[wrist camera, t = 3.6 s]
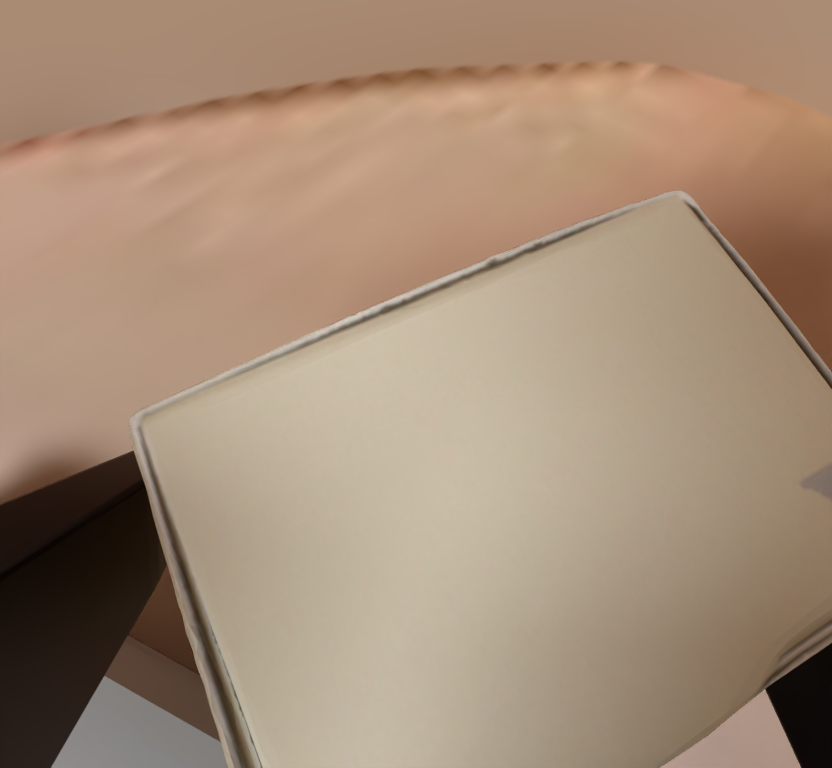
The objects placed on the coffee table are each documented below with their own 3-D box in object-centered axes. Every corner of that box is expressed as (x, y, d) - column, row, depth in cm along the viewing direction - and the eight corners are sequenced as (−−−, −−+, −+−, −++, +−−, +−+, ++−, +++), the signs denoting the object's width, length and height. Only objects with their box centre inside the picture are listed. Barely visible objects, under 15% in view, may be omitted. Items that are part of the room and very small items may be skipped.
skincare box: (478, 441, 17) (710, 159, 6) (548, 570, 16) (1013, 536, 5) (288, 533, 16) (91, 397, 4) (349, 683, 14) (305, 1050, 3)
